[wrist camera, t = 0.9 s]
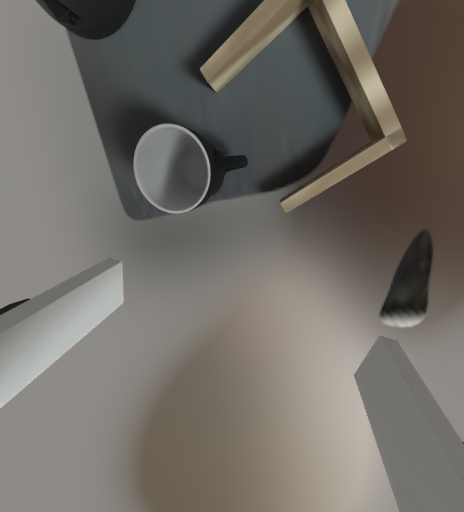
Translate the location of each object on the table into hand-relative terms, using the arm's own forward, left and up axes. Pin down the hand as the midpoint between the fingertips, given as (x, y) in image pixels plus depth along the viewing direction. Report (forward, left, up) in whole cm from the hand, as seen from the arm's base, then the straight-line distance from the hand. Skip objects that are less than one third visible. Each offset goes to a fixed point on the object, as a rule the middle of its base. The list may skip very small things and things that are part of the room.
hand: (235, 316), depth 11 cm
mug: (-11, -3, -24) cm, 26 cm away
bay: (-10, +10, -24) cm, 27 cm away
